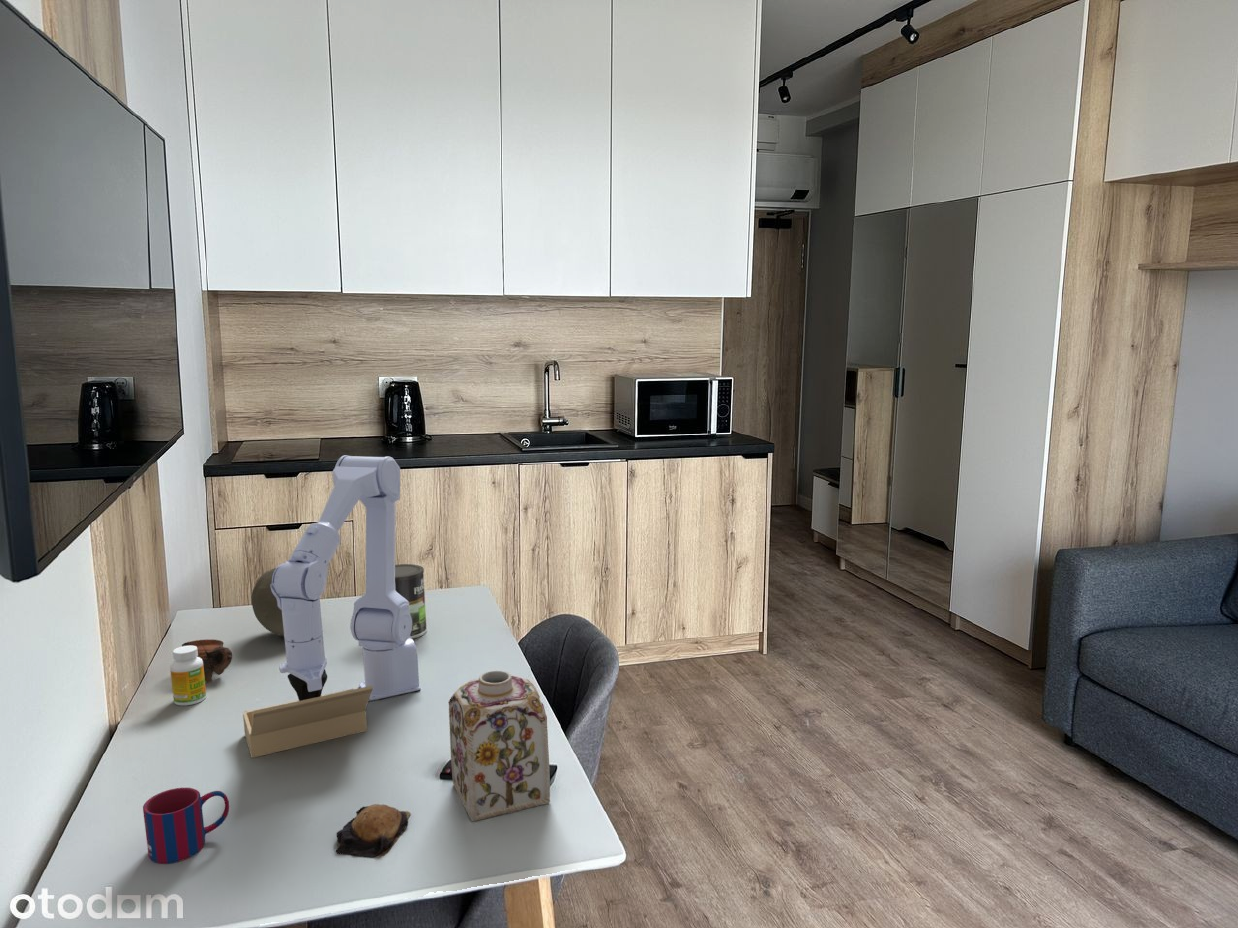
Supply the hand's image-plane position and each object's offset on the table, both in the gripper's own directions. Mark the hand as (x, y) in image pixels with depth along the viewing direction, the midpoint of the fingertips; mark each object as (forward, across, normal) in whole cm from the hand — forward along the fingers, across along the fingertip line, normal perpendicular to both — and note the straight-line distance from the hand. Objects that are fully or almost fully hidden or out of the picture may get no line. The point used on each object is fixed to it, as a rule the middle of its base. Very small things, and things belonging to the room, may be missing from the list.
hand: (311, 715), depth 143 cm
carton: (+5, -6, 0) cm, 8 cm away
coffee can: (+7, -44, +26) cm, 52 cm away
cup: (+5, +20, -19) cm, 28 cm away
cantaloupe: (+7, -56, +4) cm, 57 cm away
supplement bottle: (+6, -30, -16) cm, 35 cm away
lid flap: (-2, +2, 0) cm, 3 cm away
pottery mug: (+6, -41, -13) cm, 43 cm away
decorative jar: (+5, +29, +21) cm, 36 cm away
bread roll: (+5, +29, +3) cm, 30 cm away
